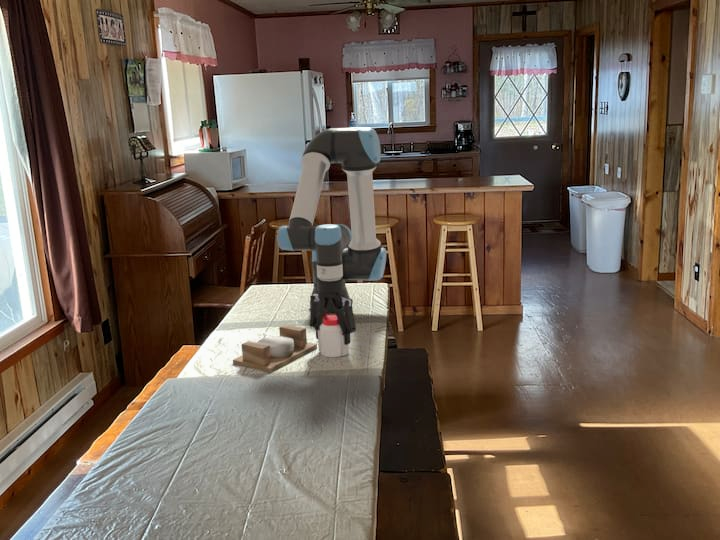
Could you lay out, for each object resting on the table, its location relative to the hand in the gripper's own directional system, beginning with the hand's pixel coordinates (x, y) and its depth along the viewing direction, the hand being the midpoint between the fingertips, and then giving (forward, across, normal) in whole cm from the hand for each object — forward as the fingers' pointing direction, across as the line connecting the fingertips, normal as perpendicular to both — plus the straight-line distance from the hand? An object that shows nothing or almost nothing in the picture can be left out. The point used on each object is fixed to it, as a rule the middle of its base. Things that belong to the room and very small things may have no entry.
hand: (333, 351), depth 203 cm
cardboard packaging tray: (0, -14, -10) cm, 17 cm away
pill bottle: (0, 0, 0) cm, 0 cm away
